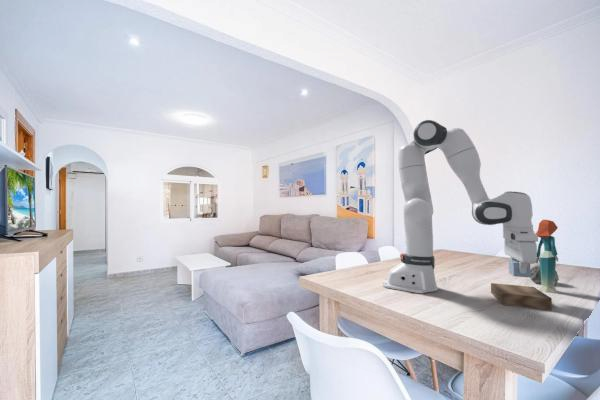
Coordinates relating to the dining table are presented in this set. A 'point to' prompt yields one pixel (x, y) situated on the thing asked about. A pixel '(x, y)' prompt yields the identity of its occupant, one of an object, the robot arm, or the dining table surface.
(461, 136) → the robot arm
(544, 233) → the sculpture
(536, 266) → the stone
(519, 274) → the slate block
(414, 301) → the dining table surface
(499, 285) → the walnut pedestal
